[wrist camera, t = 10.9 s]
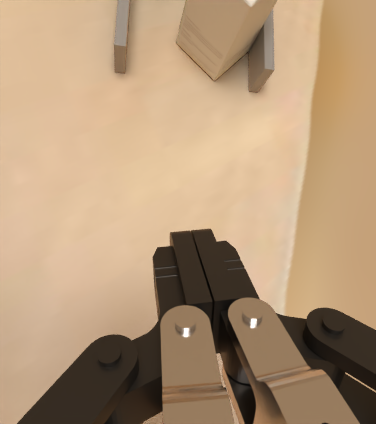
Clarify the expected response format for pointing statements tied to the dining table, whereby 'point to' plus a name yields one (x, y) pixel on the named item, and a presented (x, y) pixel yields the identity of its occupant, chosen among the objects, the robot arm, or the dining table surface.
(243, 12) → the supplement box
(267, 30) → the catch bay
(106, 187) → the dining table surface
